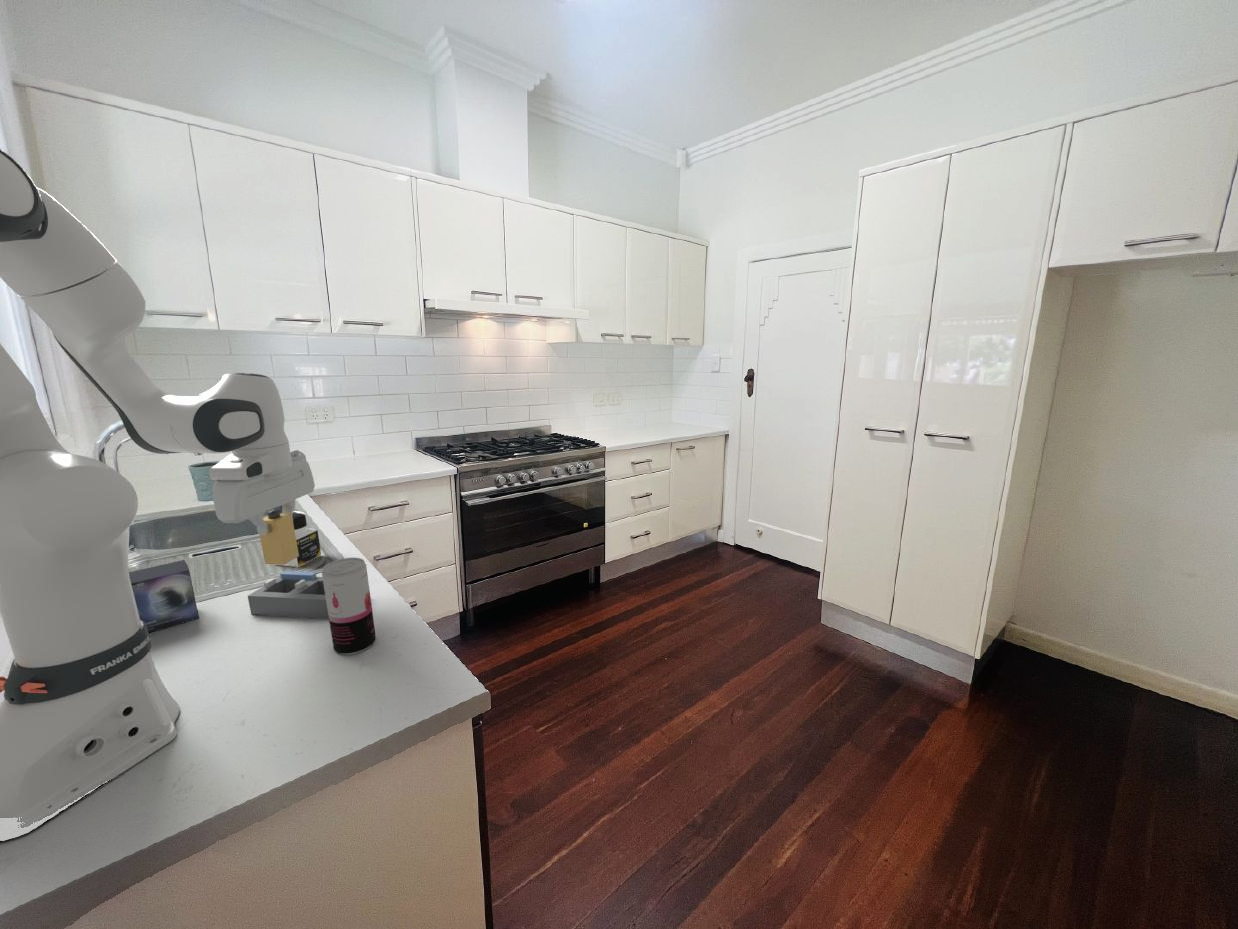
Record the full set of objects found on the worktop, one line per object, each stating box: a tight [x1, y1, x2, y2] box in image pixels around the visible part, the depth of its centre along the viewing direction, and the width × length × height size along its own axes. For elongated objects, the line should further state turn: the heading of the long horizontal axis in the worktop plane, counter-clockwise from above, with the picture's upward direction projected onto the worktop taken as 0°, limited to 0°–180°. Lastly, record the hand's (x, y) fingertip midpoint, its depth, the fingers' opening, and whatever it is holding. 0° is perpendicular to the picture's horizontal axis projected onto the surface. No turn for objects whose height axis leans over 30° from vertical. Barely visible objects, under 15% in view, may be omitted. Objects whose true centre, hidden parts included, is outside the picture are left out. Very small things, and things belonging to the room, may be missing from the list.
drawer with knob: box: [259, 509, 299, 566], centre depth 98 cm, size 4×4×10 cm
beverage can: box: [321, 557, 377, 656], centre depth 85 cm, size 6×6×15 cm
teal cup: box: [188, 460, 222, 502], centre depth 172 cm, size 10×10×12 cm
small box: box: [129, 559, 200, 634], centre depth 93 cm, size 11×6×10 cm, turn 136°
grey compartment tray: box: [247, 570, 329, 620], centre depth 100 cm, size 9×16×5 cm, turn 84°
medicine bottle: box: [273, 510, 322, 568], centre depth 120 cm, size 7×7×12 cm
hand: (276, 528), depth 98 cm, fingers closed on drawer with knob, 4 cm apart
